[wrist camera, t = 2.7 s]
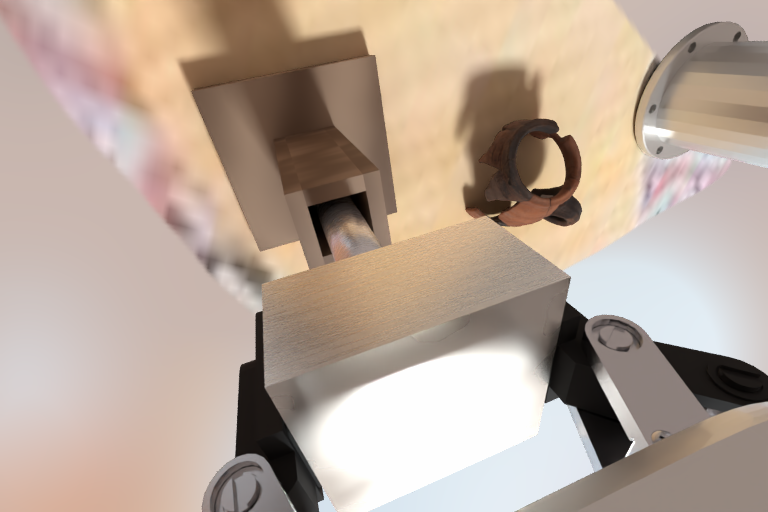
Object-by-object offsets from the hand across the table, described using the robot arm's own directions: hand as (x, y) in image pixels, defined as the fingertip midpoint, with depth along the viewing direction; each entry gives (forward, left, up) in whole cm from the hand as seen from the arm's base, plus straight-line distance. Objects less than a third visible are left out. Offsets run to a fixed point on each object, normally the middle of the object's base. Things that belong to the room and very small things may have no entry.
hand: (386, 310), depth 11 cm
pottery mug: (-18, +6, -19) cm, 27 cm away
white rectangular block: (0, 0, -11) cm, 11 cm away
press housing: (0, 0, -19) cm, 19 cm away
